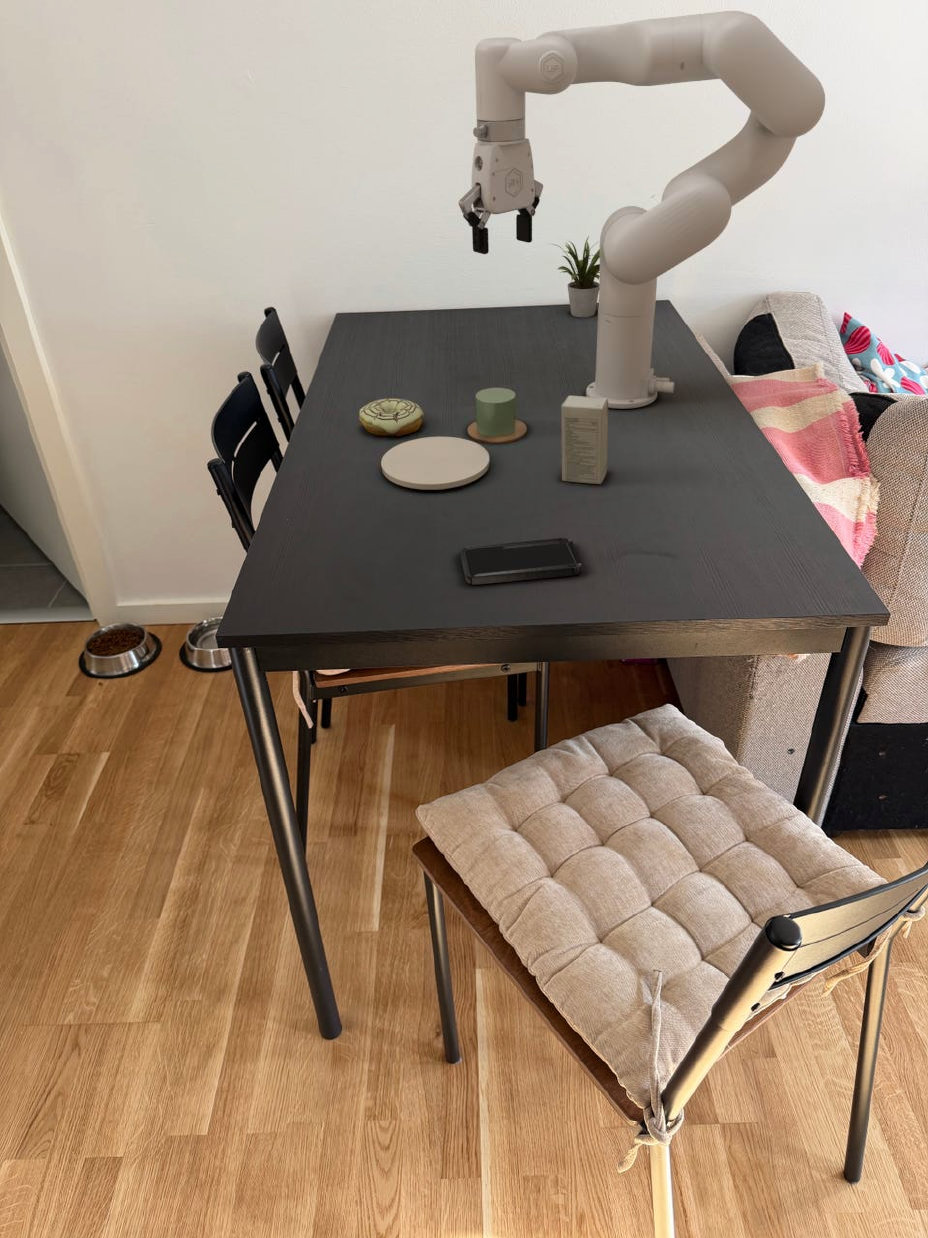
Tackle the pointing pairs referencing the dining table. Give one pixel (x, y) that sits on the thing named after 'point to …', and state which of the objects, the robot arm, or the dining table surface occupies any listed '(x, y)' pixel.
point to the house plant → (583, 282)
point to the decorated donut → (391, 417)
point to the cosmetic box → (584, 439)
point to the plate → (435, 463)
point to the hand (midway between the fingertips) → (502, 246)
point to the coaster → (516, 435)
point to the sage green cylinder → (495, 412)
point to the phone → (520, 561)
